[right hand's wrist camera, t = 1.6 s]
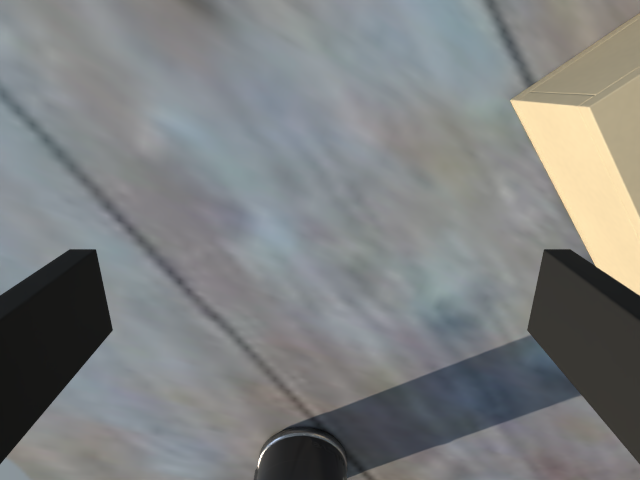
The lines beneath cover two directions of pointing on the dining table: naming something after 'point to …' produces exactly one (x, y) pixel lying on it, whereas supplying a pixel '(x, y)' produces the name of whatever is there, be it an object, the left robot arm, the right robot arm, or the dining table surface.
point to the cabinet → (594, 146)
